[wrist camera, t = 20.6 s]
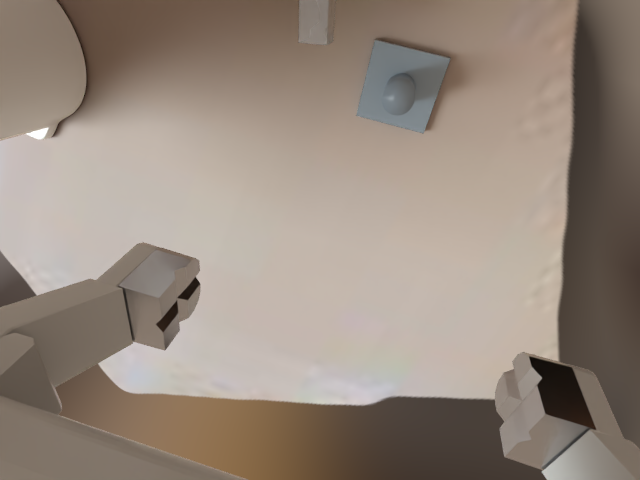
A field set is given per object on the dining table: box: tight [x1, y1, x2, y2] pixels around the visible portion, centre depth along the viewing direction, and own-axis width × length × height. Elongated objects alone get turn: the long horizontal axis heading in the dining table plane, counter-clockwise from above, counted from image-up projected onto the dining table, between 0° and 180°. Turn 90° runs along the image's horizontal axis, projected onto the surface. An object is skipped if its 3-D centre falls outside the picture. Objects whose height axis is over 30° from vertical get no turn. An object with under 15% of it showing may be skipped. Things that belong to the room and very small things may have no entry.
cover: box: [356, 39, 450, 133], centre depth 30 cm, size 6×6×4 cm
